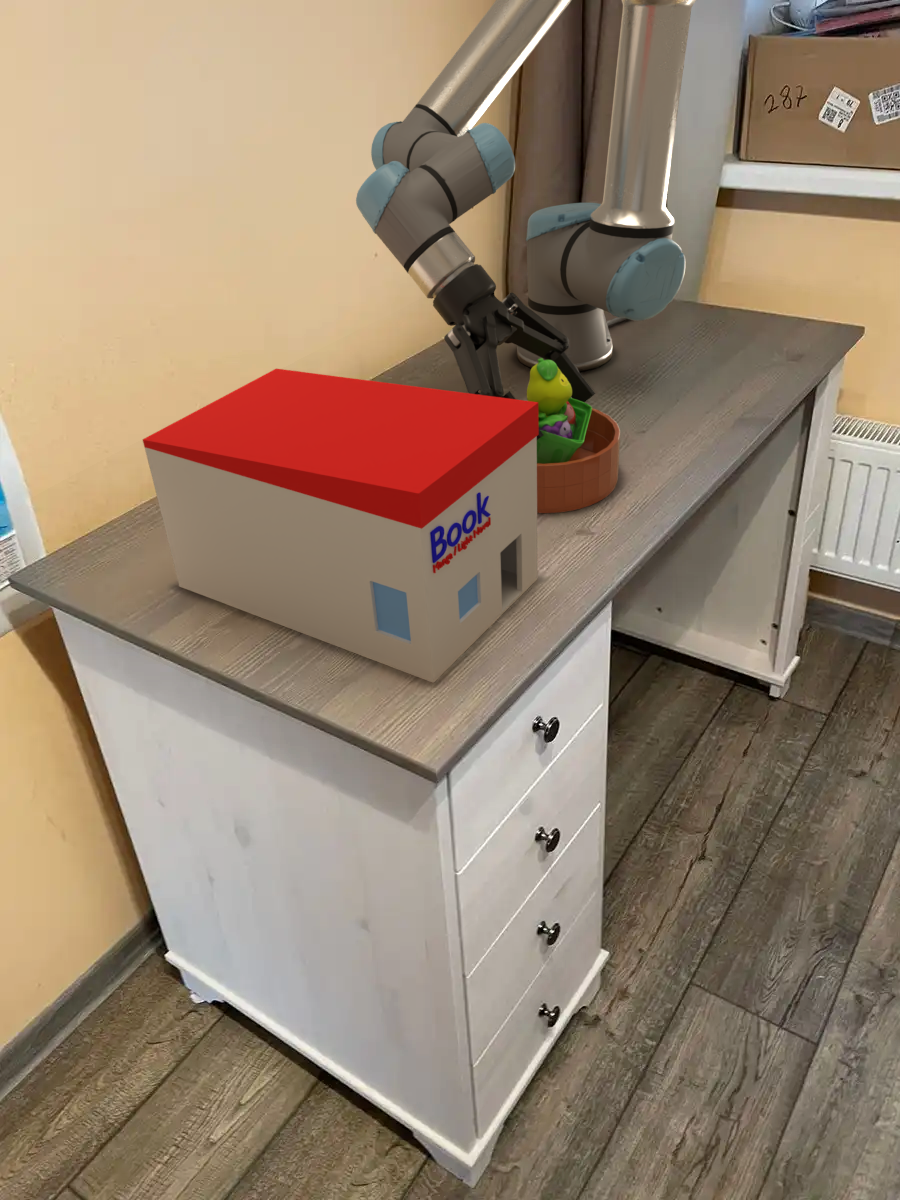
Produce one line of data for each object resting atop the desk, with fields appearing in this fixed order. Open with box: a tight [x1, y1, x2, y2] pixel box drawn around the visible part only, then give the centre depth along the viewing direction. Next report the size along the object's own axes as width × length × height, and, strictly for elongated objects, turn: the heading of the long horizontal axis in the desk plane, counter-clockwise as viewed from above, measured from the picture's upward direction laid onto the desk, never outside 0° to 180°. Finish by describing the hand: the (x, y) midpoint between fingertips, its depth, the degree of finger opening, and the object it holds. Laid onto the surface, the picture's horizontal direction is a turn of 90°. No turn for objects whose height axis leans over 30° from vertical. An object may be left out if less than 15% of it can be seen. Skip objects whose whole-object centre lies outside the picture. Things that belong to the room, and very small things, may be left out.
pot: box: [537, 407, 621, 514], centre depth 129 cm, size 18×18×6 cm
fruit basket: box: [526, 358, 593, 464], centre depth 125 cm, size 11×9×11 cm
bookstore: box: [142, 368, 539, 684], centre depth 108 cm, size 21×35×21 cm, turn 57°
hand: (562, 420), depth 125 cm, fingers closed on fruit basket, 13 cm apart
